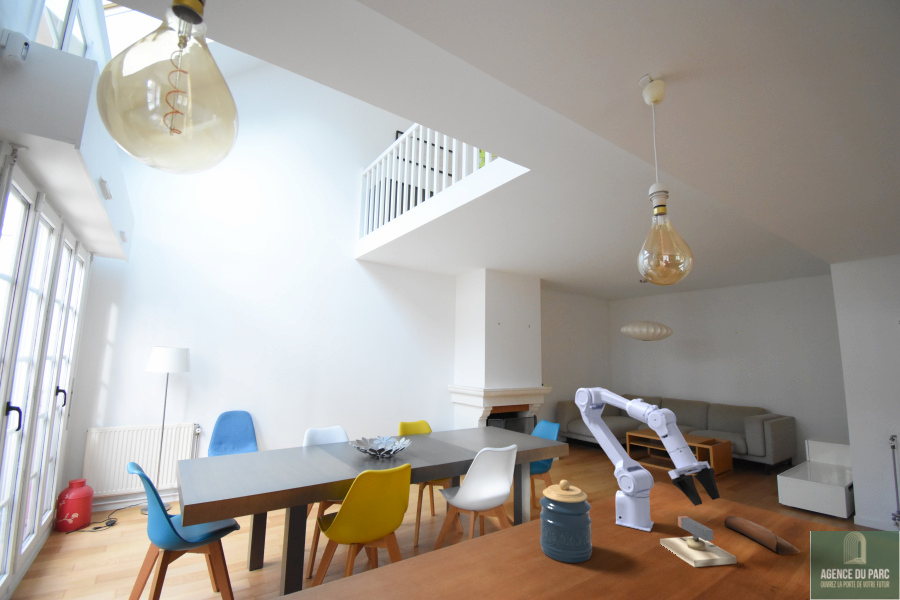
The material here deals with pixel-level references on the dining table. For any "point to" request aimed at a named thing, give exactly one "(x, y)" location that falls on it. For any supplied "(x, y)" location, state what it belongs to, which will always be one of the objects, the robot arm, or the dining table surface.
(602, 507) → the dining table surface
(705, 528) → the dark rectangular block
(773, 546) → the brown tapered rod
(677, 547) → the base plate
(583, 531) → the canister
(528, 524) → the dining table surface
